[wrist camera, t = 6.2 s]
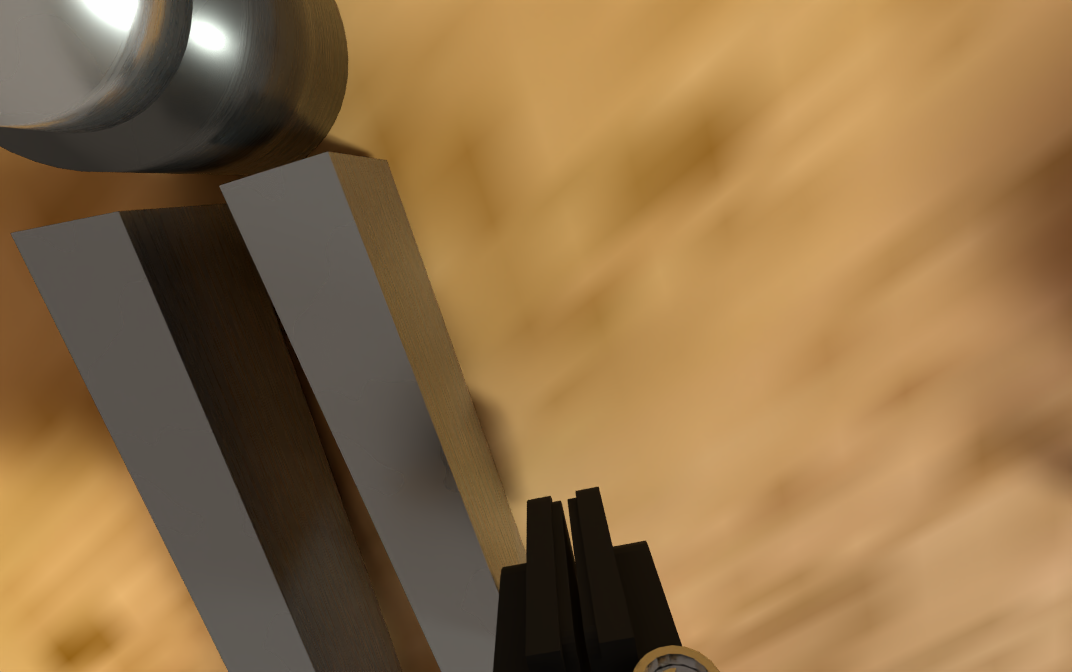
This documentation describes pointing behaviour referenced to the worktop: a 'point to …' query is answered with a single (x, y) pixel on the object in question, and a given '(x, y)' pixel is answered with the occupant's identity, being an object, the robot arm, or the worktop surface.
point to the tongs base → (216, 342)
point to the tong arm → (316, 309)
